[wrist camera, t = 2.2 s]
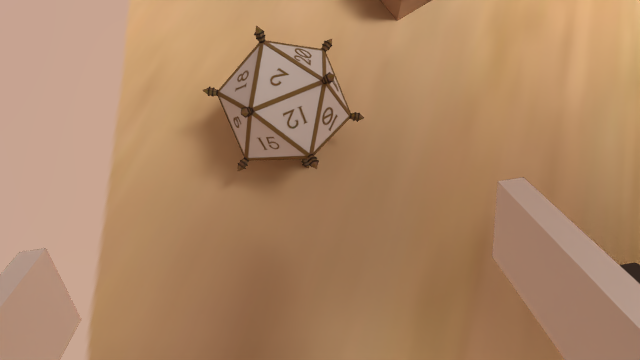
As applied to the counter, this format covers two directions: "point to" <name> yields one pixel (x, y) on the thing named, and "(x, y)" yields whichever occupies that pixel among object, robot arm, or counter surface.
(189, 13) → the counter surface
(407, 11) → the walnut block
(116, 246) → the counter surface
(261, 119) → the game die
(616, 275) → the robot arm
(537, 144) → the counter surface
